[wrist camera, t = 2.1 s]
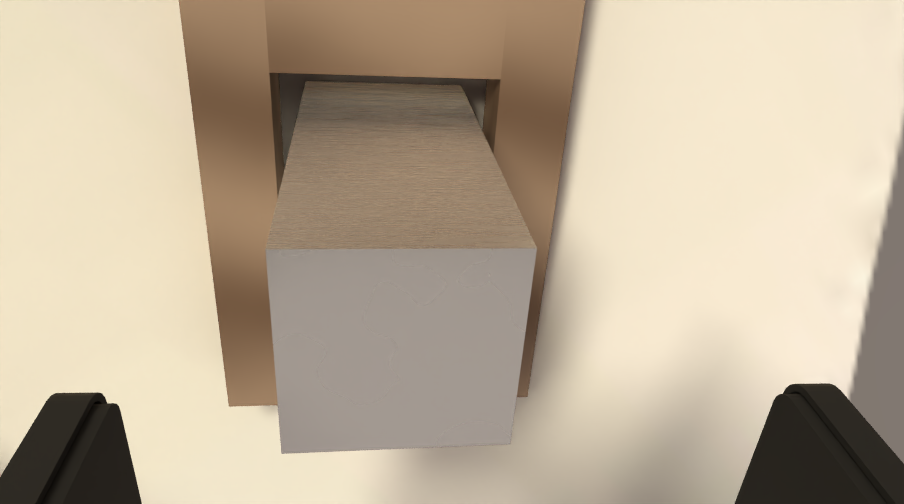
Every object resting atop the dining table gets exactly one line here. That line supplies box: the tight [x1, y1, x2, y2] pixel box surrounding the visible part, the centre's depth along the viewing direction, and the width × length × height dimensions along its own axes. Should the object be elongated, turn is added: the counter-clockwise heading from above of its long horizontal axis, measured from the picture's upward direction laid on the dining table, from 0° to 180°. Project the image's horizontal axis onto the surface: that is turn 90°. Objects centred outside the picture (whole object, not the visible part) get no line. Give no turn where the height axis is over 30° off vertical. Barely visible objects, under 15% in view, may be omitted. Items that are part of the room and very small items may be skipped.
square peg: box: [265, 81, 537, 454], centre depth 17 cm, size 4×4×10 cm
